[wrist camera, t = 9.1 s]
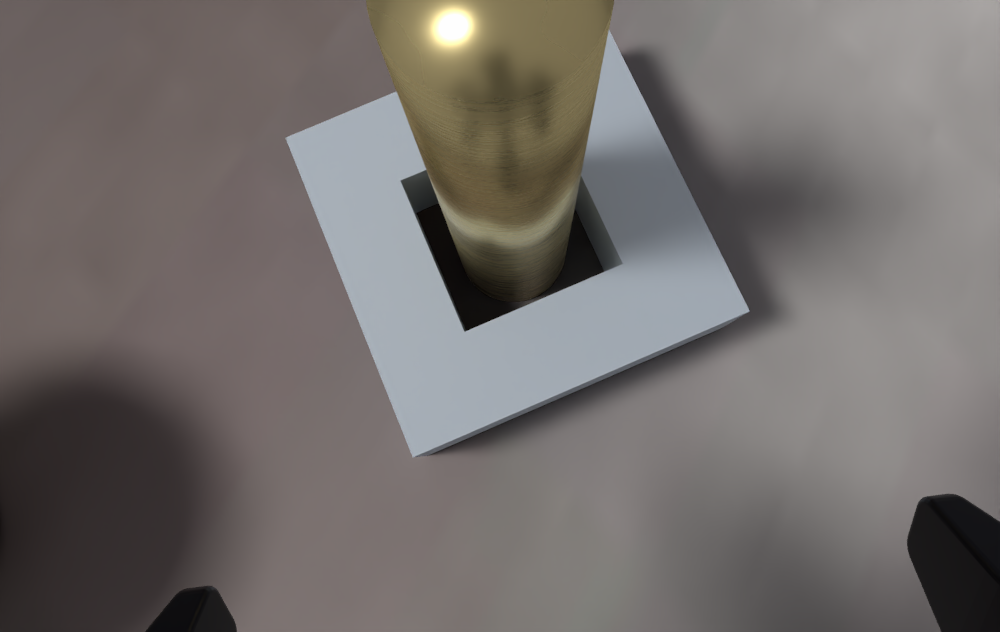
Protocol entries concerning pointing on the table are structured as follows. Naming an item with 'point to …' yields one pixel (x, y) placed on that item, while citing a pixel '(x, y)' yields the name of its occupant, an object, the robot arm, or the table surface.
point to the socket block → (537, 326)
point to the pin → (499, 122)
